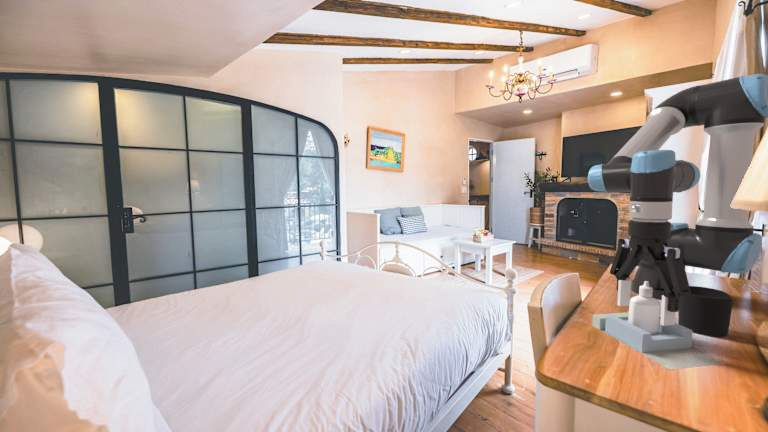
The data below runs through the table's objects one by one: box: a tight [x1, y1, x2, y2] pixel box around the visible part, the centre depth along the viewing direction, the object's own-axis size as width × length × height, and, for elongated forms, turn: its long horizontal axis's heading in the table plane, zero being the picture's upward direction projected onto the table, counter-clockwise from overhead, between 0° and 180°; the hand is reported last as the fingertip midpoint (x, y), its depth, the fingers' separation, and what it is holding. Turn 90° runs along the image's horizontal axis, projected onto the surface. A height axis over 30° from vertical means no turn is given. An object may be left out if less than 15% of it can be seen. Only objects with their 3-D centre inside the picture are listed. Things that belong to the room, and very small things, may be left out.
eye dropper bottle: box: [628, 281, 661, 334], centre depth 76 cm, size 4×6×12 cm
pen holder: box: [677, 285, 734, 338], centre depth 80 cm, size 9×9×10 cm
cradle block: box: [605, 315, 693, 353], centre depth 75 cm, size 12×10×4 cm
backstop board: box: [591, 311, 724, 370], centre depth 74 cm, size 13×20×4 cm, turn 7°
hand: (643, 314), depth 76 cm, fingers open, 10 cm apart
